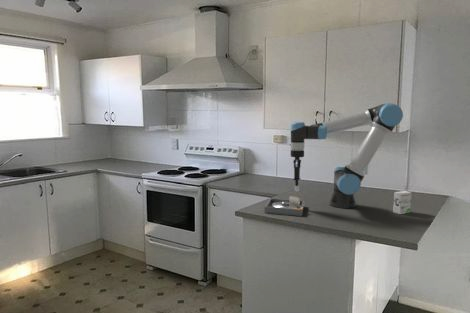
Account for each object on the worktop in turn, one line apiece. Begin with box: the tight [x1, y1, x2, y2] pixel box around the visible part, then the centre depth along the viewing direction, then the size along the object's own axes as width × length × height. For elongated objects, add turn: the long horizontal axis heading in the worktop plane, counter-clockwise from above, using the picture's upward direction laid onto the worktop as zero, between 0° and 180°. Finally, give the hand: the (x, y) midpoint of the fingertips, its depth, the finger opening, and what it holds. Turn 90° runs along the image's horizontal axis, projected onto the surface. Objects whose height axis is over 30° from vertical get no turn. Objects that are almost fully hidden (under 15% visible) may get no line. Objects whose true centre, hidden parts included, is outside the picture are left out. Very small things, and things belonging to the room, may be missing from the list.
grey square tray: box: [264, 197, 305, 217], centre depth 209 cm, size 20×20×4 cm
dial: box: [272, 195, 301, 209], centre depth 208 cm, size 16×15×7 cm
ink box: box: [392, 190, 413, 215], centre depth 208 cm, size 9×5×12 cm, turn 116°
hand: (296, 191), depth 211 cm, fingers closed
